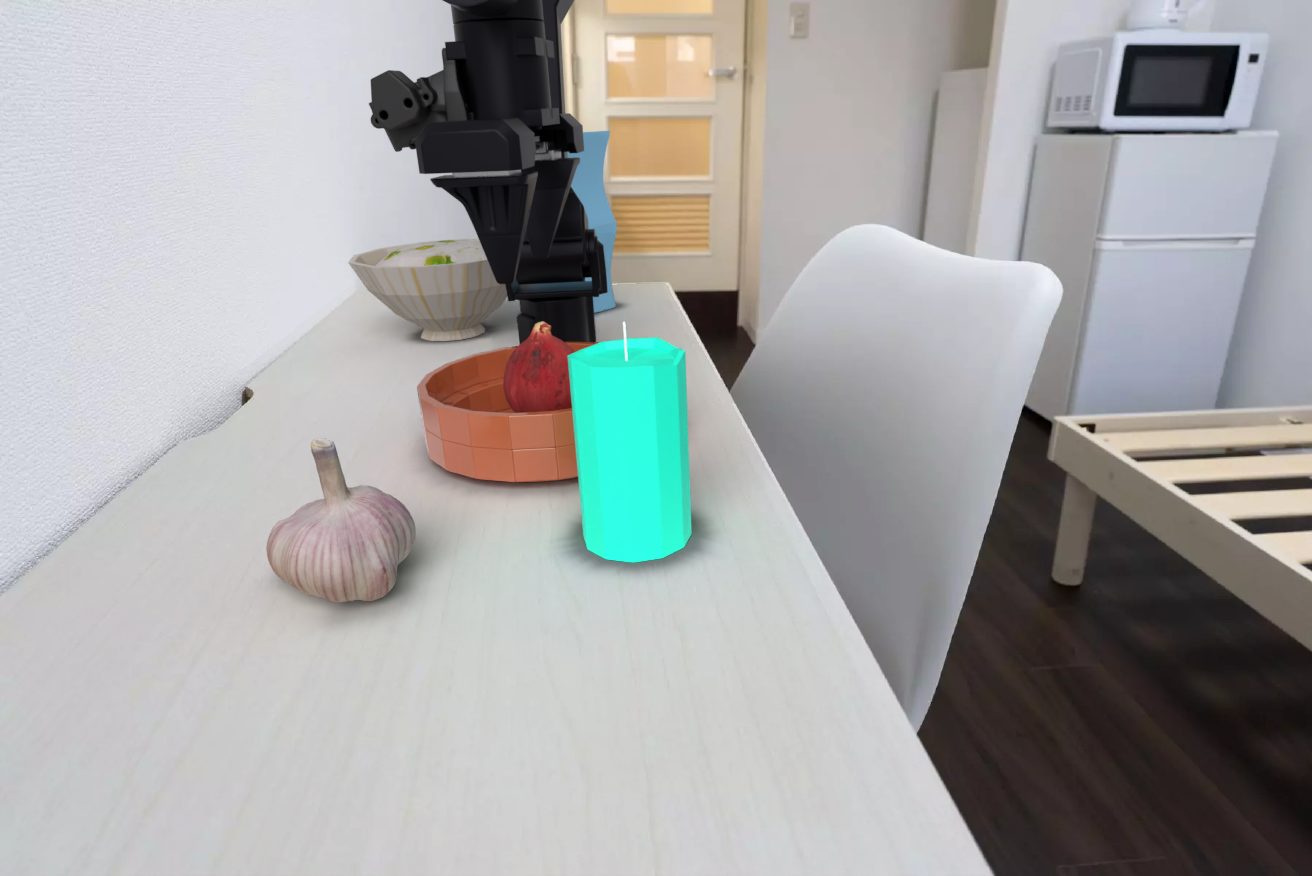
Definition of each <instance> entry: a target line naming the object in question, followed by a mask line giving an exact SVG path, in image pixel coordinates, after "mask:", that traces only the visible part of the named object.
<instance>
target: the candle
mask: <svg viewBox="0 0 1312 876" xmlns="http://www.w3.org/2000/svg"><path fill="white" fill-rule="evenodd" d="M622 331H623V338H621V339H612V340H606V341H605V340H604V341H600V342H597V344H595V345H592V346H589V347H587V348H584V349H581V350H579V351H577V352H574V353H572V354H570V355H567V356H568V368H569V379H570V390H571V402H572V413H573V425H574V436H575V447H576V459H577V470H578V477H577V481H578V491H579V503H580V513H581V524H582V535H583V536H582V537H583V539H584V543H585V547H586V549H587V550H588V551H589V552H591V553H593V554H595V555H597V556H598V557H600V558H602V559H604V560H607V561H615V562H616V561H617V562H625V563H641V562H646V561H654V560H660V559H664V558H666V557H668V556H670V555H673V554H674V553H676V552H678V551H680V550H682V549H684V548H685V547H686V545H687V543H688V541H689V539H690V538H691V536H692V533H693V531H692V530H693V529H692V504H691V502H692V501H691V476H690V475H691V474H690V473H691V472H690V444H689V417H688V416H689V415H688V389H687V387H688V386H687V362H686V361H687V359H686V357H687V356H686V350H685V349H683V348H680V347H677V346H675V345H674V344H672V343H670V342H668V341H666V340H664V339H662V338H660V337H659V336H654V337H652V336H651V337H628V338H627V322H626V321H622Z"/></svg>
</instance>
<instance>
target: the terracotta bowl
mask: <svg viewBox="0 0 1312 876" xmlns="http://www.w3.org/2000/svg"><path fill="white" fill-rule="evenodd" d="M565 343H566V344H567V345H569V346H570V347H571V348H572V349H573V350H574V351H575V352H577V351H579V350H581V349H584V348H587V347H589V346H592V345H595V344H597V343H598V342H597V341H596V342H565ZM518 346H519V345H513V346H507V347H501V348H496V349H491V350H487V351H483V352H478V353H474V354H473V353H472V354H469V355H467V356H464V357H462V358H458V359H455V360H453V361H449V362H446V363H444V364H442V365H441V366H439V367H437V368H435V369H433V370H431V371H429V372H428V373H427V374H425V375H424V376H423V378H422V379H421V380H420V382H419V383H418V384H417V385H416V391H417V398H418V403H419V410H420V416H421V423H422V429H423V436H424V442H425V447H426V451H427V454H428V458H429V459H430V460H431V461H433V462H434V463H435V464H436V465H438V466H439V467H441V468H443V469H444V470H446V471H447V472H450V473H455V474H458V475H462V476H465V477H467V478H472V479H476V480H485V481H497V482H510V483H541V482H542V483H543V482H556V481H562V480H563V481H565V480H570V479H576V478H578V470H577V459H576V447H575V436H574V425H573V413H572V408H569V409H562V410H556V411H544V412H525V413H515V412H514V411H513V410H512V408H511V407H510V405H509V404H508V402H507V400H506V397H505V393H504V389H503V381H504V373H505V368H506V364H507V362H508V360H509V358H510V356H511V354H512V353H513V351H514V350H515V349H516V348H517V347H518Z"/></svg>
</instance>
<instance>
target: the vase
mask: <svg viewBox="0 0 1312 876" xmlns="http://www.w3.org/2000/svg"><path fill="white" fill-rule="evenodd" d="M610 135H611V131H610V130H597V131H583V140H584V151H583V152H579V153H569V152H568V158H580V163H579V165H578V166H577V169H576V172H575V175H574V178H573V181H572V184H571V187H572V189H573V190H574V192H575V193H576V195H577V197H578V198H579V200H580V201H581V203H582V204H583V206H584V209H585V212H586V214H587V217H588V227H589V229H595V233H596V236H597V237H598V241H599V242H601V243H602V244H603V246H604V255H605V264H606V275H607V289H608V292H607V293H604V294H600V295H599V297H593V304H594V314H596V313H600V312H604V311H607V310H610V309H611V310H612V309H613V308H614V309H615V308H616V307H617V304H616V300H615V299H616V298H615V296H614V295H615V294H614V290H613V284H612V281H613V280H612V259H613V252H614V246H615V242H616V241H615V240H616V236H617V232H618V227H617V225H618V224H617V221H616V218H615V216H614V213H613V211H612V209H611V206H610V204H609V200H608V197H607V194H606V189H605V182H604V168H605V167H604V166H605V158H606V152H607V147H608V144H609V143H608V142H609V139H610ZM585 281H592V277H588V278H585Z"/></svg>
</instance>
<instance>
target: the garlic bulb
mask: <svg viewBox="0 0 1312 876" xmlns="http://www.w3.org/2000/svg"><path fill="white" fill-rule="evenodd" d="M336 447H337V446H336V444H335V442H334V441H333V440H331V439H328V438H324V437H323V438H321V437H320V438H314V439H312V440H311V442H310V450H311V454H312V456H313V459H314V463H315V467H316V471H317V474H318V477H319V483H320V484H319V485H320V486H321V491H322V494H323V498H319V499H315V500H313V501H312V502H309V503H306V504H303V505H302V506H300V507H299V508H298V509H296V510H295V512H294V513H293V514H291V515H290V516H288V517H287V518H284V519H281V520H278V521H277V523H275V524H274V526H273V527H272V529H271V530H270V532H269V535H268V539H267V542H266V556H267V561H268V564H269V565H270V568H271V570H272V572H274V574H275V575H276V576H277V577H278V578H279V579H281V580H282V581H284V582H286V583H287V584H290V585H291V586H293V587H294V588H295V589H296V590H298V591H299V592H301V593H303V594H305V595H309V596H312V597H319V598H323V599H324V600H325V601H327V602H331V603H344V602H352V603H353V602H355V601H362V602H363V601H364V602H374V601H377V600H379V599H381V598H383V597H385V596H387V595H388V594H389V593H390V592H391V590H392V589H393V588H394V587H395V585H396V582H397V577H398V567H399V565H400V564H401V563H402V562H403V561H404V560H405V559H406V558H407V557H408V555H409V554H410V552H411V551H412V549H413V547H414V545H415V543H416V542H415V541H416V533H417V532H416V525H415V521H414V518H413V517H412V514H411V513H410V511H409V510H408V508H407V507H406V505H405V504H403V503H402V501H400V500H399V499H397V498H396V497H394V496H393V495H391V494H389V493H386V492H384V491H382V490H381V489H379V488H377V487H375V486H371V485H366V484H365V485H364V484H362V485H358V486H353V487H348V485H347V482H346V478H345V475H344V472H343V469H342V466H341V465H342V464H341V462H340V461H341V460H340V457H339V454H338V451H337V448H336Z"/></svg>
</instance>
